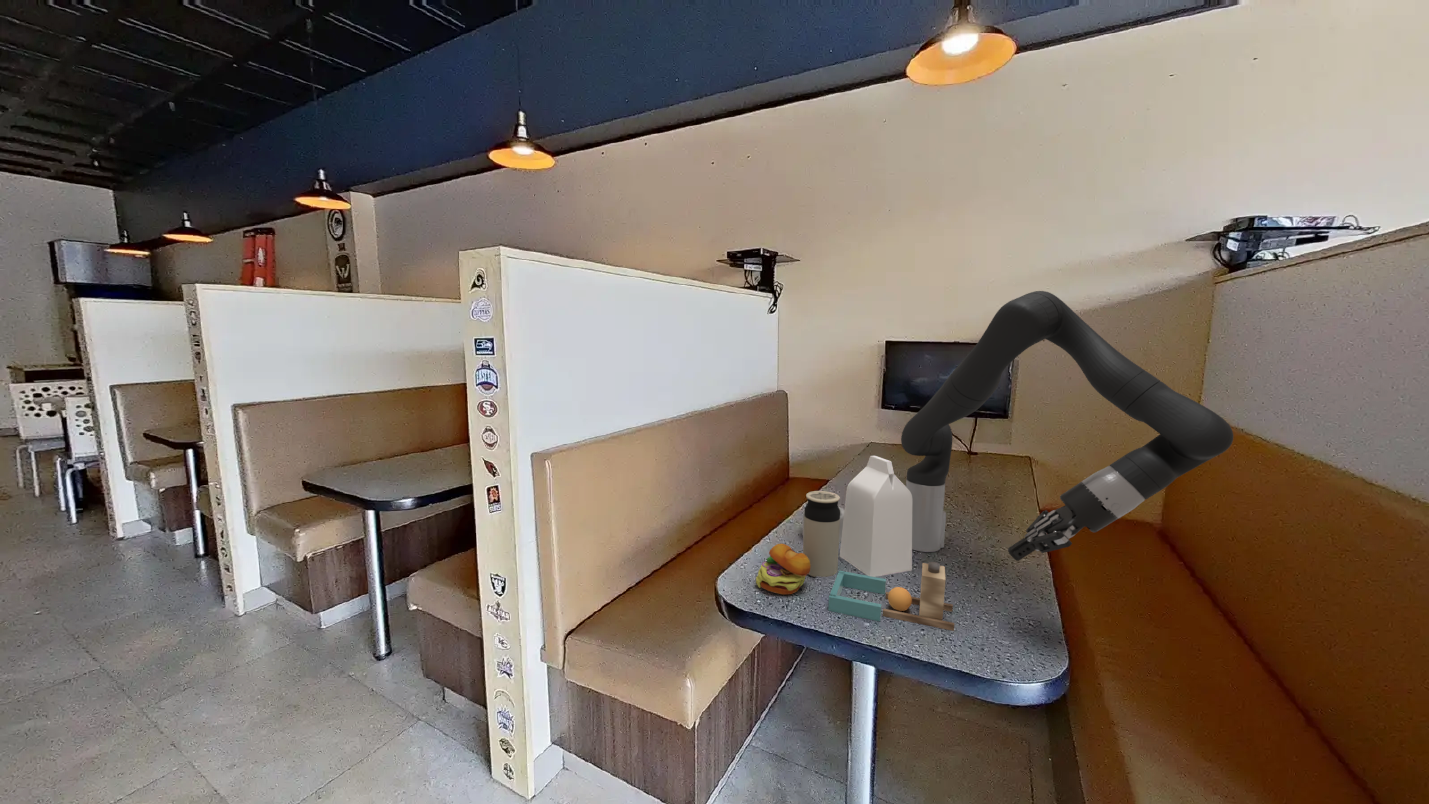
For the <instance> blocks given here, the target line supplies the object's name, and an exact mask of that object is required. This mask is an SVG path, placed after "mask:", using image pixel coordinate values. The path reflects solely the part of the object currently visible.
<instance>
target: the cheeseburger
mask: <svg viewBox="0 0 1429 804" xmlns="http://www.w3.org/2000/svg"><path fill="white" fill-rule="evenodd" d="M768 553H769V556H768V557H767V558H766V561H763V562H761V565H760V568H759V569H758V572H757V575H756V577H755V583H756V586H757V587H758V588H759V589H761V588H762V589H764V590H766V591H768V592H771V593H775V594H779V595H792V594H795V593H797V592H798V591H799V589H801V587H802V586H803V585H804V583H805V580H806V577H807V575H808V574H809V572H810V567H811V565H810V560H809V559H808V557H807V556H806V555H805V554H803V552H799V553H798V552H796V551H795V550H793V549H792V547H790V546H789V545H787V544H784V543H776V544H775V545H774V546H772V547H771V549H770V550H769V551H768Z"/></svg>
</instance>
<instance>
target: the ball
mask: <svg viewBox="0 0 1429 804" xmlns="http://www.w3.org/2000/svg"><path fill="white" fill-rule="evenodd" d="M888 592H889V594H888V599H887V601H888V603H889V605H890V607H891V608H892V609H893V610H894V611H898V612H902V611H903V612H904V611H907V610H908V609H909V608H910V607H911V606H912V604H911V603H912V598H911V597H912V595H911V593H910V592H909V591H908V589H906V588H904V587H902V586H900V587H899V586H895V587H893V588H892V589H891V590H889V591H888Z"/></svg>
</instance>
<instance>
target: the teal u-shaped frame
mask: <svg viewBox="0 0 1429 804" xmlns="http://www.w3.org/2000/svg"><path fill="white" fill-rule="evenodd" d="M886 585H887V578H883V577H878V576H877V577H872V576H867V575H865V574H859V573H855V572H849V571H845V570H838V571H837V576H836V578H835V580H834V583H833V586H832V588H831V590H830V593H829V596H828V608H827V609H828V611H829V612H833V613H838V614H843V615H848V616H852V617H856V618H862V619H866V620H871V621H875V622H881V619H882V606H883V605H882V603H876V602H873V601H868V600H861V599H857V598H852V597H847V596H842V591H843V588H848V589H849V588H850V589H855V590H860V591H864V592H870V593H875V594H881V595H886V587H887V586H886Z"/></svg>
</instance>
